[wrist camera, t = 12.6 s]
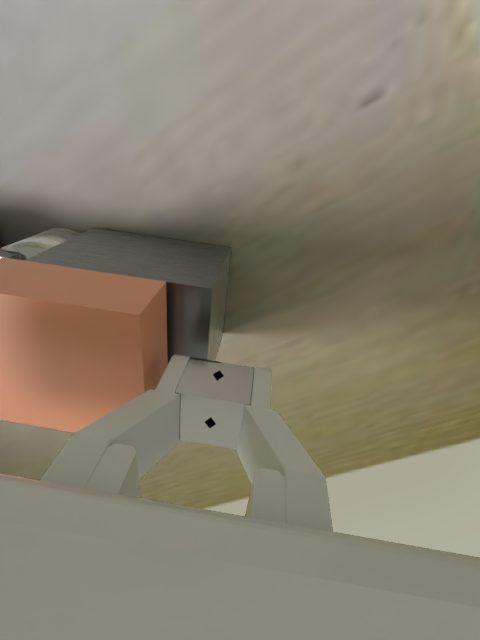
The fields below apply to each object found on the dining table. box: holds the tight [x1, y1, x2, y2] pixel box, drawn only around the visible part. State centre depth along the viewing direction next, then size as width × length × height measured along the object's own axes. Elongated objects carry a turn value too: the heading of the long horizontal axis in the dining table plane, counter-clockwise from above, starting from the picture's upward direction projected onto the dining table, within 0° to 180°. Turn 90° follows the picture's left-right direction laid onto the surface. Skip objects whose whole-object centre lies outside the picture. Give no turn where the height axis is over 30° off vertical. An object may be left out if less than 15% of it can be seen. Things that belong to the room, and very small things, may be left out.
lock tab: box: [0, 257, 168, 433], centre depth 9 cm, size 5×5×2 cm
